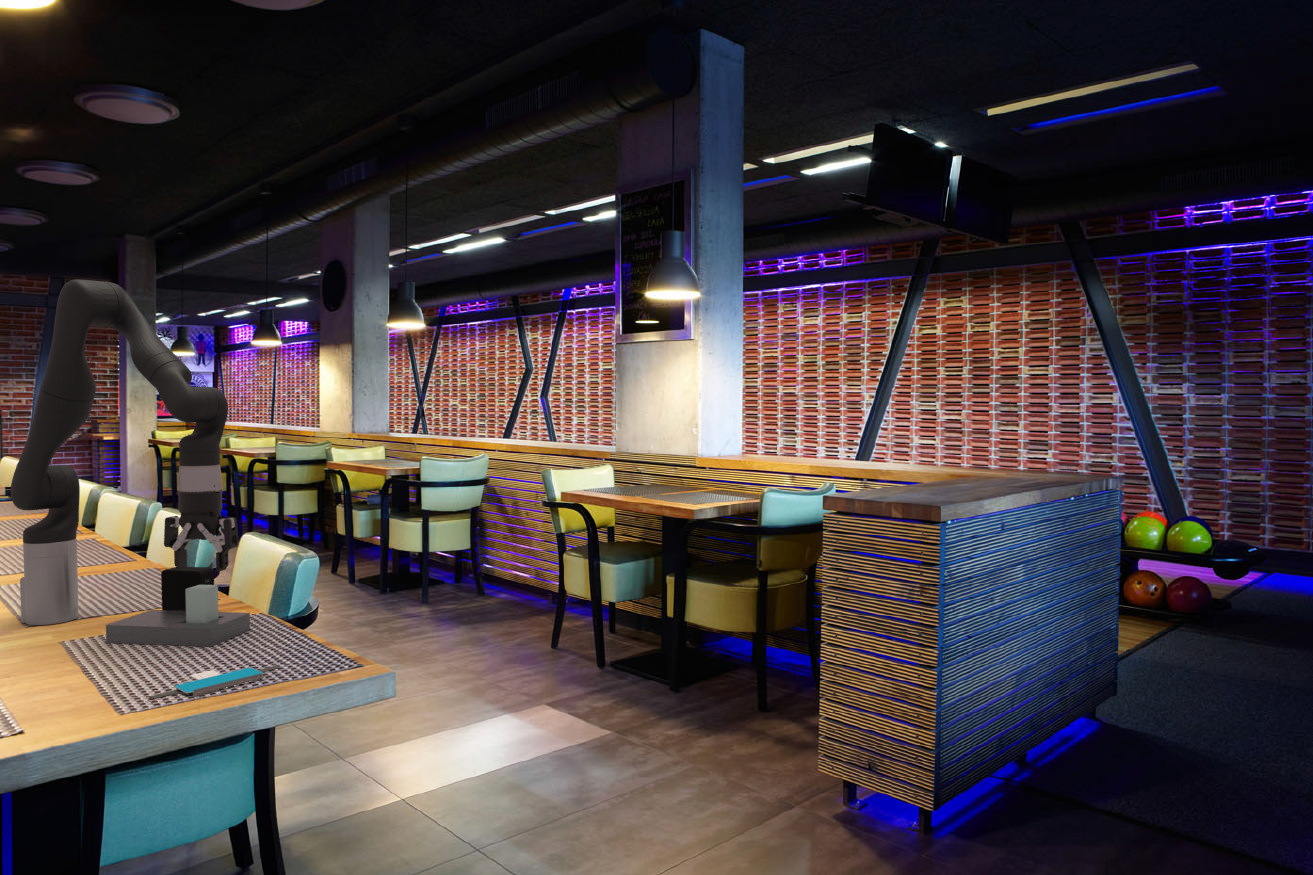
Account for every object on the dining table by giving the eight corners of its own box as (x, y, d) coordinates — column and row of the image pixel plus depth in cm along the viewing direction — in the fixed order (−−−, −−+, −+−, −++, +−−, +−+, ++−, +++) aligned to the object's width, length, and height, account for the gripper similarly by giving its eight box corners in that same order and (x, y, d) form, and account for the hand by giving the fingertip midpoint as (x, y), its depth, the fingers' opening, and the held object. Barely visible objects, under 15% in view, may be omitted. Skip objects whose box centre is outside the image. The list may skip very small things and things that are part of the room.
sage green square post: (186, 639, 161) (185, 589, 161) (200, 634, 165) (199, 584, 165) (205, 640, 161) (204, 589, 160) (218, 634, 165) (217, 585, 164)
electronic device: (201, 616, 179) (200, 571, 178) (161, 614, 181) (160, 569, 180) (215, 612, 183) (214, 567, 183) (176, 610, 185) (175, 566, 185)
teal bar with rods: (260, 662, 148) (260, 653, 148) (292, 676, 141) (292, 667, 140) (135, 692, 133) (135, 682, 133) (163, 709, 125) (163, 699, 125)
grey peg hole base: (106, 642, 159) (105, 624, 159) (152, 626, 171) (151, 609, 171) (210, 646, 156) (210, 628, 156) (250, 629, 168) (249, 612, 168)
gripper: (153, 489, 159) (154, 572, 160) (221, 490, 157) (222, 574, 158) (180, 485, 167) (181, 564, 167) (245, 486, 165) (246, 567, 165)
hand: (201, 569), depth 163 cm, fingers open, 8 cm apart
